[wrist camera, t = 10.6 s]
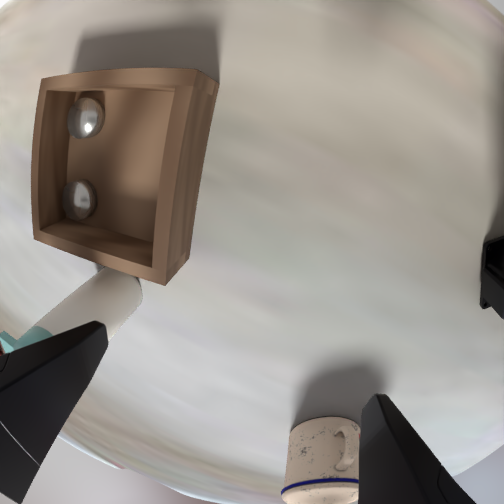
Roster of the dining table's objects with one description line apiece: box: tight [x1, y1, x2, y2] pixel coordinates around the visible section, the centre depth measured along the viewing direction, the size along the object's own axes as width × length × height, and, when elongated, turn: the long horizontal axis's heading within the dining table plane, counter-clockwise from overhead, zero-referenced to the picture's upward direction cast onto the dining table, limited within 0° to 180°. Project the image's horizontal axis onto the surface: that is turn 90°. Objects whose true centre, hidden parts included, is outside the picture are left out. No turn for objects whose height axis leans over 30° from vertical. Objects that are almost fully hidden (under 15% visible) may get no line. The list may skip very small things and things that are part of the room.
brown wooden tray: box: [31, 68, 219, 286], centre depth 17 cm, size 13×13×4 cm
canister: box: [0, 267, 142, 353], centre depth 18 cm, size 7×5×12 cm
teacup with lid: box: [281, 417, 360, 504], centre depth 22 cm, size 12×9×12 cm
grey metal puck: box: [62, 179, 98, 221], centre depth 19 cm, size 3×3×1 cm
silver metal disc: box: [67, 98, 106, 139], centre depth 17 cm, size 3×3×1 cm
